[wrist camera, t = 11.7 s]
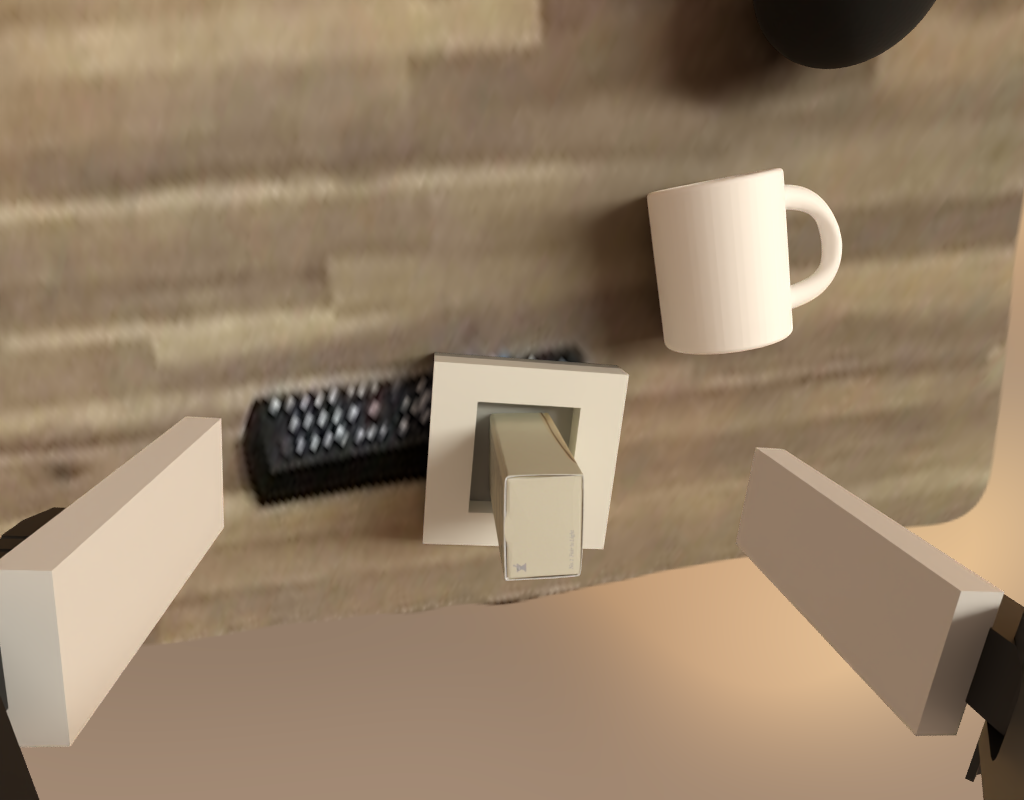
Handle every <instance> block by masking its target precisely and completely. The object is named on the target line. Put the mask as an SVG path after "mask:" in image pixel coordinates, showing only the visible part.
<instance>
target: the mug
mask: <svg viewBox="0 0 1024 800" xmlns="http://www.w3.org/2000/svg"><path fill="white" fill-rule="evenodd" d="M647 203H648V211H649V220H650V228H651V236H652V244H653V253H654V261H655V269H656V277H657V285H658V294H659V302H660V310H661V318H662V327H663V335H664V343H665V345H666V347H667V348H669V349H670V350H673V351H676V352H680V353H686V354H723V353H732V352H740V351H746V350H751V349H756V348H760V347H764V346H767V345H771V344H774V343H776V342H779V341H781V340H783V339H785V338H786V337H788V336H789V335H790V334H791V332H792V330H793V324H792V309H793V308H796V307H798V306H801V305H803V304H805V303H807V302H809V301H811V300H813V299H814V298H816V297H817V296H818V295H820V294H821V293H822V292H823V291H824V290H825V289H826V288H827V287H828V286H829V284H830V283H831V282H832V280H833V278H834V277H835V275H836V273H837V270H838V267H839V264H840V260H841V255H842V240H841V234H840V230H839V227H838V224H837V221H836V219H835V217H834V215H833V213H832V211H831V210H830V208H829V207H828V205H827V204H826V203H825V202H824V201H823V199H822V198H821V197H819V196H818V195H817V194H816V193H814V192H813V191H811V190H809V189H807V188H804V187H801V186H796V185H784V175H783V170H782V169H781V168H775V169H768V170H762V171H757V172H751V173H746V174H740V175H735V176H730V177H724V178H719V179H714V180H709V181H704V182H699V183H694V184H689V185H684V186H679V187H674V188H669V189H664V190H660V191H655V192H651V193H649V194H648V195H647ZM786 209H791V210H799V211H803V212H806V213H808V214H810V215H811V216H812V217H813V218H814V219H815V221H816V223H817V225H818V228H819V232H820V237H821V245H822V257H821V262H820V265H819V267H818V269H817V270H816V271H815V272H814V273H813V274H812V275H811V276H810V277H808V278H806V279H805V280H802V281H800V282H798V283H796V284H793V285H790V274H789V258H788V241H787V225H786Z"/></svg>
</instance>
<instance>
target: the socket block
mask: <svg viewBox="0 0 1024 800" xmlns="http://www.w3.org/2000/svg"><path fill="white" fill-rule="evenodd" d="M628 378H629V375H628V374H627V373H626V372H624V371H623V370H622V369H621V368H619V367H618V366H617V365H604V364H590V363H576V362H562V361H548V360H534V359H520V358H506V357H492V356H478V355H464V354H450V353H436V352H435V353H434V368H433V384H432V399H431V415H430V430H429V446H428V461H427V477H426V492H425V508H424V524H423V544H449V545H482V546H499V544H498V538H497V532H496V526H495V521H494V515H493V509H492V503H491V497H490V489H489V427H490V415H491V414H493V413H549V415H550V417H551V418H552V420H553V422H554V424H555V425H556V427H557V429H558V431H559V432H560V434H561V436H562V438H563V440H564V441H565V443H566V445H567V447H568V448H569V450H570V452H571V454H572V455H573V457H574V459H575V461H576V463H577V465H578V466H579V468H580V470H581V472H582V473H583V475H584V526H583V527H584V529H583V549H603V548H604V541H605V534H606V527H607V520H608V514H609V507H610V500H611V493H612V486H613V480H614V473H615V466H616V459H617V452H618V446H619V439H620V432H621V425H622V418H623V412H624V405H625V398H626V391H627V384H628Z"/></svg>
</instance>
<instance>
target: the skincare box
mask: <svg viewBox="0 0 1024 800" xmlns="http://www.w3.org/2000/svg"><path fill="white" fill-rule="evenodd" d="M489 489H490V497H491V503H492V509H493V515H494V521H495V526H496V532H497V538H498V544H499V550H500V556H501V562H502V568H503V573H504V579H505V580H506V581H509V580H531V579H549V578H551V579H552V578H564V577H577V576H579V575H580V574H581V566H582V551H583V529H584V527H583V526H584V475H583V473H582V472H581V470H580V468H579V466H578V465H577V463H576V461H575V459H574V457H573V455H572V454H571V452H570V450H569V448H568V447H567V445H566V443H565V441H564V440H563V438H562V436H561V434H560V432H559V431H558V429H557V427H556V425H555V424H554V422H553V420H552V418H551V417H550V415H549V413H493V414H491V415H490V427H489Z"/></svg>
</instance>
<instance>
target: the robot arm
mask: <svg viewBox="0 0 1024 800" xmlns="http://www.w3.org/2000/svg"><path fill="white" fill-rule="evenodd" d="M223 528H224V510H223V471H222V432H221V418H205V417H187V416H186V417H184V418H183V419H182V420H181V421H179V422H178V423H177V424H175V425H174V426H173V427H171V428H170V429H169V430H168V431H166V432H165V433H164V434H162V435H161V436H160V437H158V438H157V439H156V440H154V441H153V442H152V443H151V444H149V445H148V446H147V447H145V448H144V449H143V450H141V451H140V452H139V453H138V454H136V455H135V456H134V457H132V458H131V459H130V460H128V461H127V462H126V463H124V464H123V465H122V466H121V467H119V468H118V469H117V470H115V471H114V472H113V473H111V474H110V475H109V476H107V477H106V478H105V479H104V480H102V481H101V482H100V483H98V484H97V485H96V486H94V487H93V488H92V489H91V490H89V491H88V492H87V493H85V494H84V495H83V496H81V497H80V498H79V499H77V500H76V501H75V502H74V503H72V504H71V505H70V506H68V507H67V508H52V509H49V510H47V511H44V512H42V513H39V514H37V515H34V516H32V517H30V518H27V519H25V520H23V521H21V522H20V523H18V524H17V525H16V526H14V527H13V528H11V529H10V530H9V531H7V532H6V533H4V534H3V535H2V537H1V539H0V800H39V798H38V795H37V792H36V790H35V787H34V784H33V782H32V779H31V776H30V773H29V771H28V768H27V765H26V763H25V760H24V757H23V755H22V752H21V749H20V747H66V746H67V747H68V746H69V747H70V746H71V745H72V743H73V742H74V741H75V739H76V738H77V736H78V735H79V733H80V732H81V731H82V729H83V728H84V726H85V725H86V723H87V722H88V721H89V719H90V718H91V716H92V715H93V713H94V712H95V710H96V709H97V707H98V706H99V705H100V703H101V702H102V701H103V699H104V698H105V696H106V695H107V693H108V692H109V691H110V689H111V687H112V686H113V685H114V683H115V682H116V681H117V679H118V678H119V676H120V675H121V674H122V672H123V671H124V669H125V668H126V666H127V665H128V664H129V662H130V661H131V659H132V658H133V656H134V655H135V654H136V652H137V651H138V649H139V648H140V646H141V645H142V644H143V642H144V641H145V639H146V638H147V636H148V635H149V634H150V632H151V631H152V629H153V628H154V626H155V625H156V624H157V622H158V621H159V619H160V618H161V616H162V615H163V614H164V612H165V611H166V609H167V608H168V607H169V605H170V604H171V602H172V601H173V599H174V598H175V597H176V595H177V594H178V592H179V591H180V589H181V588H182V587H183V585H184V584H185V582H186V581H187V579H188V578H189V577H190V575H191V574H192V572H193V571H194V569H195V568H196V567H197V565H198V564H199V562H200V561H201V559H202V558H203V557H204V555H205V554H206V552H207V551H208V549H209V548H210V547H211V545H212V544H213V542H214V541H215V539H216V538H217V537H218V535H219V534H220V532H221V531H222V530H223ZM736 545H737V546H738V547H739V548H740V549H741V550H742V551H743V552H744V553H745V554H746V555H747V556H748V557H749V558H750V560H752V562H753V563H754V564H755V565H756V566H757V567H758V568H759V569H760V570H761V571H762V572H763V573H764V574H765V575H766V577H767V578H768V579H769V580H770V581H771V582H772V583H773V584H774V585H775V586H776V587H777V588H778V589H779V590H780V592H781V593H782V594H783V595H784V596H785V597H786V598H787V599H788V600H789V601H790V602H791V603H792V604H793V605H794V606H795V607H796V609H797V610H798V611H799V612H800V613H801V614H802V615H803V616H804V617H805V618H806V619H807V620H808V621H809V623H810V624H811V625H812V626H813V627H814V628H815V629H816V630H817V631H818V632H819V633H820V634H821V635H822V636H823V637H824V639H825V640H826V641H827V642H828V643H829V644H830V645H831V646H832V647H833V648H834V649H835V650H836V651H837V652H838V653H839V655H840V656H841V657H842V658H843V659H844V660H845V661H846V662H847V663H848V664H849V665H850V666H851V667H852V668H853V670H854V671H855V672H856V673H857V674H858V675H859V676H860V677H861V678H862V679H863V680H864V681H865V682H866V683H867V684H868V686H869V687H871V689H872V690H873V691H874V692H875V693H876V694H877V695H878V696H879V697H880V698H881V699H882V700H883V702H884V703H885V704H886V705H887V706H888V707H889V708H890V709H891V710H892V711H893V712H894V713H895V714H896V715H897V716H898V718H899V719H900V720H901V721H902V722H903V723H904V724H905V725H906V726H907V727H908V728H909V729H910V730H911V731H912V732H913V734H914V735H916V736H928V735H929V736H931V735H933V736H934V735H935V736H936V735H956V734H957V731H958V728H959V725H960V722H961V719H962V716H963V713H964V710H965V707H966V704H968V705H970V706H971V707H972V708H973V709H974V710H975V711H976V712H977V713H979V714H980V715H981V716H982V717H983V718H984V719H985V723H984V726H983V729H982V732H981V735H980V738H979V740H978V743H977V746H976V749H975V752H974V755H973V758H972V761H971V763H970V767H969V769H968V772H967V775H966V779H968V780H970V781H972V782H973V781H974V779H975V777H976V775H978V774H981V775H982V787H983V798H984V800H1024V607H1023V606H1021V605H1020V604H1018V603H1017V602H1015V601H1014V600H1012V599H1011V598H1009V597H1008V596H1006V595H1004V592H1003V591H1002V590H1000V589H999V588H997V587H996V586H994V585H993V584H991V583H989V582H988V581H986V580H985V579H983V578H982V577H980V576H979V575H977V574H975V573H974V572H972V571H971V570H969V569H968V568H966V567H965V566H963V565H962V564H960V563H959V562H957V561H955V560H954V559H952V558H951V557H949V556H948V555H946V554H945V553H943V552H942V551H940V550H939V549H937V548H935V547H934V546H932V545H931V544H929V543H928V542H926V541H925V540H923V539H922V538H920V537H918V536H917V535H915V534H914V533H912V532H911V531H909V530H908V529H906V528H905V527H903V526H901V525H900V524H898V523H897V522H895V521H894V520H892V519H891V518H889V517H888V516H886V515H884V514H883V513H881V512H880V511H878V510H877V509H875V508H874V507H872V506H871V505H869V504H868V503H866V502H864V501H863V500H861V499H860V498H858V497H857V496H855V495H854V494H852V493H851V492H849V491H847V490H846V489H844V488H843V487H841V486H840V485H838V484H837V483H835V482H834V481H832V480H830V479H829V478H827V477H826V476H824V475H823V474H821V473H820V472H818V471H817V470H815V469H813V468H812V467H810V466H809V465H807V464H806V463H804V462H803V461H801V460H800V459H798V458H797V457H795V456H793V455H792V454H790V453H789V452H787V451H786V450H784V449H775V448H756V449H755V454H754V458H753V463H752V468H751V473H750V478H749V483H748V487H747V492H746V497H745V502H744V507H743V512H742V516H741V521H740V526H739V531H738V536H737V541H736Z"/></svg>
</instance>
